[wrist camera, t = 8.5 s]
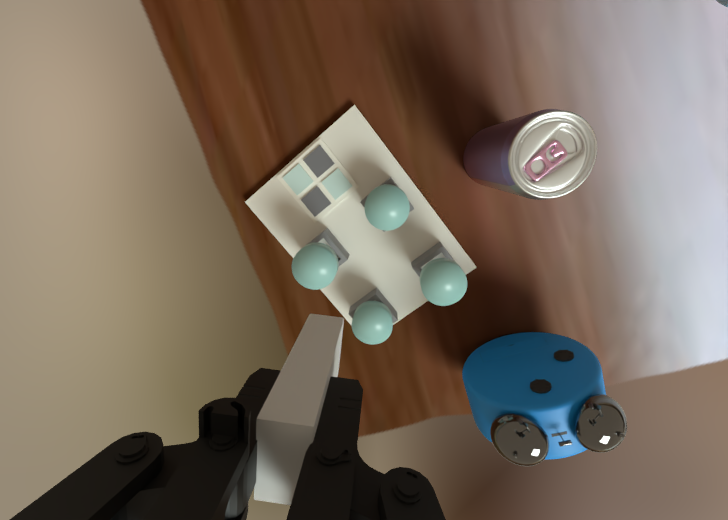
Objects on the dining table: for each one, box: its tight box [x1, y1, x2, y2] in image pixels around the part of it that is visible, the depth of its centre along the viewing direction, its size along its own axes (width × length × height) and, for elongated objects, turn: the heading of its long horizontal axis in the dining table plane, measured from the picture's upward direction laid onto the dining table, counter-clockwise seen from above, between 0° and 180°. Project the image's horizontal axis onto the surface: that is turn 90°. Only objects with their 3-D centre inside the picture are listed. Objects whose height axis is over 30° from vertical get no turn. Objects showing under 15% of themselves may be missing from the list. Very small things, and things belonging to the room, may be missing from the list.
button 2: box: [292, 242, 339, 290], centre depth 37 cm, size 4×4×4 cm
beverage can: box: [463, 109, 597, 200], centre depth 31 cm, size 6×6×15 cm
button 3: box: [420, 258, 467, 306], centre depth 36 cm, size 4×4×4 cm
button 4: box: [352, 301, 393, 344], centre depth 40 cm, size 4×4×4 cm
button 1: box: [365, 184, 410, 231], centre depth 37 cm, size 4×4×4 cm
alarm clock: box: [462, 332, 627, 466], centre depth 37 cm, size 13×6×15 cm, turn 108°
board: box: [245, 105, 477, 325], centre depth 40 cm, size 16×22×3 cm
